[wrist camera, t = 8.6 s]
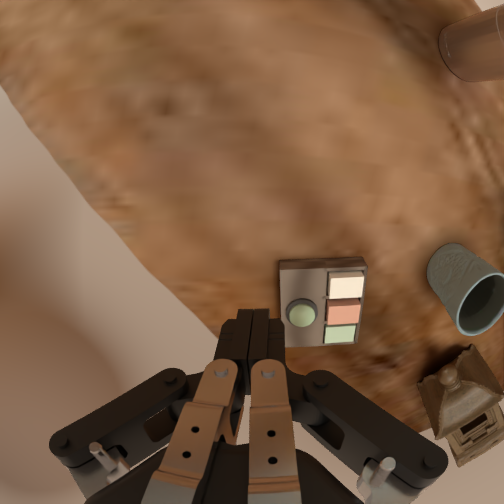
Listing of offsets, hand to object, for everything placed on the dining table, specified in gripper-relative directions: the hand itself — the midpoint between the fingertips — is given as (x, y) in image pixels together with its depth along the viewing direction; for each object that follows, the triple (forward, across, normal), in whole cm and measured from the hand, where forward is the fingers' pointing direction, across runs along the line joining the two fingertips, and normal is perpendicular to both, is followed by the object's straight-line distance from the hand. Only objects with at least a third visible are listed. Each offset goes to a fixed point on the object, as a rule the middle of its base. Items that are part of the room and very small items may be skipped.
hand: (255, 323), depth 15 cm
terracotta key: (+25, -10, +16) cm, 32 cm away
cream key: (+25, -10, +12) cm, 29 cm away
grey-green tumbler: (+27, -29, +12) cm, 42 cm away
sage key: (+26, -10, +21) cm, 35 cm away
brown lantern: (+27, -41, +42) cm, 64 cm away
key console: (+27, -8, +16) cm, 33 cm away
